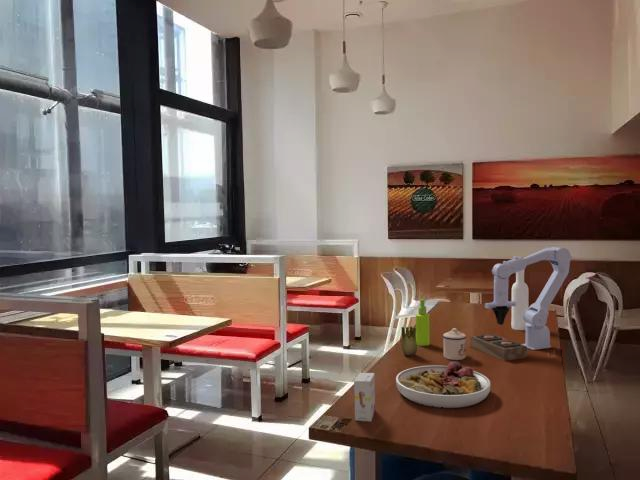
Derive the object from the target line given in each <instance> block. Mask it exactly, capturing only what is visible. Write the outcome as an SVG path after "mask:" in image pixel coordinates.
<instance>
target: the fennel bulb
mask: <svg viewBox="0 0 640 480" xmlns="http://www.w3.org/2000/svg"><path fill="white" fill-rule="evenodd" d="M400 330H401V342H400V343H401V350H402V353H403V354H404V355H405V356H408V357H413V356H415V355H416V354H417V353H418V345H417V342H416V326H412V325H410V326H401V329H400Z"/></svg>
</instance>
